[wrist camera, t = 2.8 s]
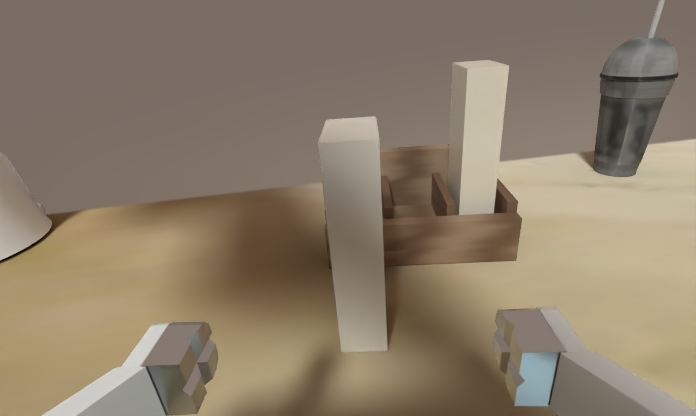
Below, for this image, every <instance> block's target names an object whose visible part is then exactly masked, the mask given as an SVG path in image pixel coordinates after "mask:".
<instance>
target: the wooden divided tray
mask: <svg viewBox="0 0 696 416" xmlns="http://www.w3.org/2000/svg"><path fill="white" fill-rule="evenodd" d="M448 167H449V144H448V145H432V146H416V147H402V148H401V147H399V148H384V149H380V172H381V197H382V223H383V248H384V266H398V265H421V264H444V263H468V262H491V261H514V260H516V258H517V250H518V243H519V236H520V229H521V222H522V218H521V217H520V216H519V215H518V213H517V204H518V201H517V200H516V199H515V197H514V196H513V195H512V194H511V193H510V192H509V191H508V190H507V188H506V187H505V186H504V185H503V184H502V183H501V182H500V180H499V179H498V178H497V187H496V196H495V206H494V213H490V214H470V215H455V208H456V204H455V202H454V200H453V198H452V197H451V195H450V193H449V191H448ZM325 216H326V211H325ZM325 234H326V242H327V251H328V260H329V268H332V265H331V256H330V247H329V238H328V229H327V220H326V225H325Z"/></svg>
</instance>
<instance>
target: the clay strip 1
mask: <svg viewBox="0 0 696 416" xmlns="http://www.w3.org/2000/svg"><path fill="white" fill-rule="evenodd" d="M318 148H319V157H320V166H321V175H322V184H323V193H324V202H325V211H326V220H327V229H328V238H329V247H330V256H331V265H332V274H333V283H334V292H335V300H336V309H337V318H338V327H339V336H340V345H341V352H372V351H388V349H387V324H386V298H385V273H384V248H383V223H382V197H381V172H380V147H379V135H378V128H377V121H376V117H361V118H347V119H332V120H326V122H325V125H324V128H323V131H322V133H321V136H320V139H319V141H318Z"/></svg>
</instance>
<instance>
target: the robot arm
mask: <svg viewBox="0 0 696 416" xmlns="http://www.w3.org/2000/svg"><path fill="white" fill-rule="evenodd" d="M51 227H52V221H51V220H50V219H49V218H48V217H47V215H46V214H45V209H44V207H43V206H42V204H41V203H36V201H35V200H34V199H33V197H32V196H31V194H30V192H29V191H28V189H27V188H26V186H25V184H24V183H23V181H22V180H21V178H20V176H19V175H18V173H17V172H16V170H15V169H14V167H13V166H12V164H11V163H10V161H9V159H8V158H7V157H6V156H5V155H4V154H2V153H1V152H0V260H2V259H4V258H7V257H9V256H11V255H13V254H15V253H17V252H19V251H21V250H23V249H25V248H26V247H28V246H30V245H31V244H33V243H35V242H36V241H38V240H39V239H40V238H42V237H43V236H44V235H45V234H46V233H47V232H48V231H49V230H50V229H51ZM495 322H496V324H497V326H498V328H499V329H498V330H497V331H496V332H495V333H494V342H493V345H494V354H495V358H496V361H497V364H498V367H499V369H500V370H501V371H502V372H503V373H505V374H506V382H505V384H506V387H507V389H508V391H509V394H510V396H511V399H512V401H513V404H514V406H549V408H550V409H551V410H552V411H553V412H554V413H555V414H556V415H557V416H696V410H695V409H693V408H692V407H690V406H688V405H686V404H685V403H683V402H681V401H680V400H678V399H676V398H674V397H673V396H671V395H669V394H667V393H666V392H664V391H662V390H661V389H659V388H657V387H655V386H654V385H652V384H650V383H649V382H647V381H645V380H643V379H642V378H640V377H638V376H637V375H635V374H633V373H631V372H630V371H628V370H626V369H625V368H623V367H621V366H619V365H618V364H616V363H614V362H613V361H611V360H609V359H607V358H606V357H604V356H602V355H601V354H599V353H597V352H589V350H588V349H587V347H586V346H585V345H584V343H583V342H582V341H581V339H580V338H579V336H578V335H577V334H576V332H575V331H574V329H573V328H572V327H571V325H570V324H569V322H568V321H567V320H566V318H565V317H564V315H563V314H562V313H561V311H560V310H559V309H558V308H557V307H539V308H527V309H506V310H498V311H497V313H496V320H495ZM211 333H212V331H211V329H210V326H209V323H206V322H173V323H155V324H153V325H152V326H150V328H149V329H148V331H147V332H146V333H145V335H144V336H143V337H142V339H141V340H140V342H139V343H138V344H137V346H136V347H135V349H134V350H133V351H132V353H131V354H130V355H129V357H128V358H127V360H126V361H125V362H124V364H123V365H122V367H117V368H114V369H113V370H111V371H110V372H108V373H106V374H105V375H103V376H102V377H100V378H99V379H97V380H96V381H94V382H93V383H91V384H90V385H88V386H86V387H85V388H83V389H82V390H80V391H79V392H77V393H76V394H74V395H73V396H71V397H70V398H68V399H66V400H65V401H63V402H62V403H60V404H59V405H57V406H56V407H54V408H53V409H51V410H50V411H48V412H46V413H45V414H43V415H42V416H167V415H186V414H198V411H199V409H200V407H201V404H202V402H203V400H204V398H205V395H206V393H207V391H206V388H205V385H206V384H207V383H208V382H209V381H210V380H211V379H213V377H214V374H215V372H216V369H217V362H218V352H217V348H216V344H215V343H213V342H212V341H211V340H210V339H209V337H210V335H211Z"/></svg>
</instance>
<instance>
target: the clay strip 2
mask: <svg viewBox="0 0 696 416" xmlns="http://www.w3.org/2000/svg"><path fill="white" fill-rule="evenodd" d="M508 70H509V66H508V65H504V64H501V63H497V62H494V61H490V60H483V61H469V62H456V63H453V74H452V97H451V121H450V144H449V167H448V191H449V193H450V195H451V197H452V198H453V200H454V202H455V204H456V208H455V215H470V214H490V213H494V206H495V196H496V187H497V177H498V167H499V157H500V147H501V137H502V128H503V119H504V109H505V98H506V89H507V80H508V79H507V78H508Z"/></svg>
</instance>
